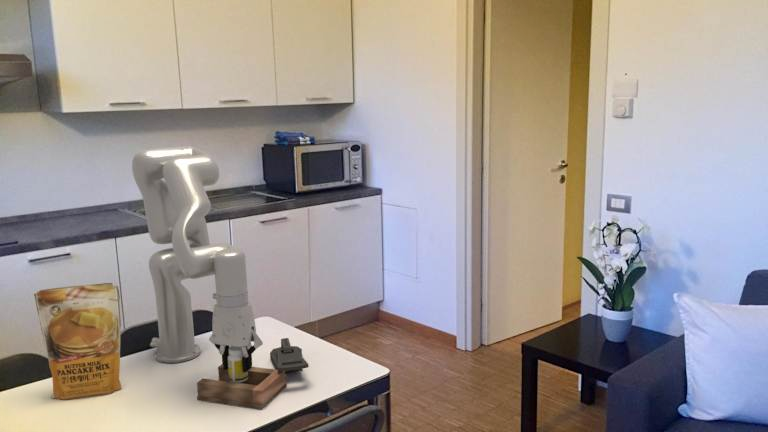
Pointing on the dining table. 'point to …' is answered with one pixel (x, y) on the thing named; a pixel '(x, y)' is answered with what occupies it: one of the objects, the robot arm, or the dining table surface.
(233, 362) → the supplement bottle
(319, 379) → the dining table surface
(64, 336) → the pancake mix bag
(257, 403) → the open u-shaped wooden frame
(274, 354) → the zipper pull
